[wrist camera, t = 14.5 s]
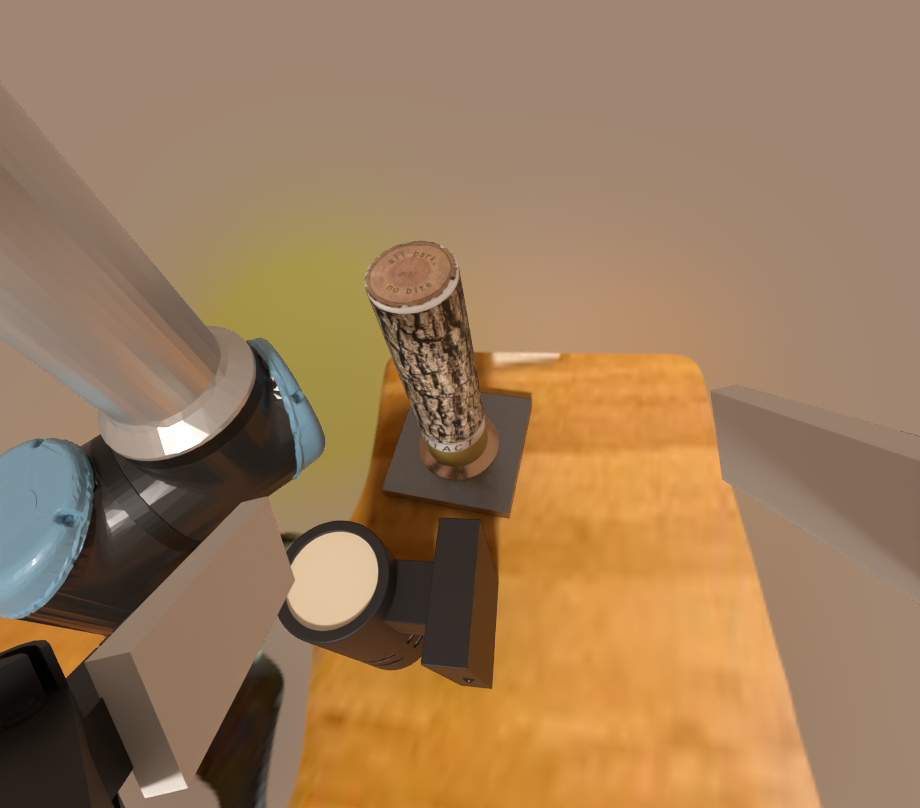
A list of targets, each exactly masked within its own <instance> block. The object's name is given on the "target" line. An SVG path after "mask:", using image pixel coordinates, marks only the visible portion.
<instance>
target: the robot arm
mask: <svg viewBox="0 0 920 808" xmlns="http://www.w3.org/2000/svg"><path fill="white" fill-rule="evenodd" d="M0 339H1V340H2V341H4V342H5V343H6V344H8V345H9V346H11V347H12V348H13V349H15V350H16V351H18V352H19V353H20V354H22V355H23V356H25V357H26V358H27V359H29V360H30V361H32V362H33V363H34V364H36V365H37V366H38V367H40V368H41V369H43V370H44V371H45V372H47V373H48V374H50V375H51V376H52V377H54V378H55V379H57V380H58V381H59V382H61V383H62V384H63V385H65V386H66V387H68V388H69V389H70V390H72V391H73V392H75V393H76V394H77V395H79V396H80V397H82V398H83V399H84V400H86V401H87V402H89V403H90V404H91V405H93V406H94V407H95V408H97V409H98V410H99V412H98V424H99V430H100V433H101V434H100V435H99V436H97V437H95V438H94V439H92V440H90V441H89V442H87V443H86V444H84V445H82V446H78V445H77V444H74V443H73V442H70V441H68V440H60V439H56V438H49V439H46V440H43V439H34V440H30V441H27V442H24V443H22V444H20V445H18V446H15V447H13V448H11V449H10V450H8V451H6V452H5V453H3V454H2V455H0V617H2V618H9V619H18V620H23V621H29V622H34V623H40V624H45V625H51V626H56V627H61V628H67V629H72V630H78V631H83V632H89V633H94V634H100V635H104V636H105V637H106V638H105V639H104V640H103V641H102V642H101V643H100V644H99V645H100V647H98V648H95V650H94V651H93V652H92V653H91V654H90V655H89V656H88V657H87V658H86V659H85V660H84V661H83V662H82V663H81V664H80V665H79V666H78V667H77V668H76V669H75V670H74V671H73V672H72V673H71V674H70V675H69V676H68V677H67V678H65V676H64V674H63V672H62V670H61V667H60V665H59V663H58V661H57V659H56V657H55V654H54V652H53V650H52V648H51V646H50V644H49V643H48V642H47V641H46V640H39V641H32V642H28V643H25V644H21V645H18V646H16V647H13V648H11V649H8V650H6V651H4V652H1V653H0V808H125V807H124V805H123V802H122V800H121V798H120V796H119V794H118V791H119V789H120V788H121V786H122V785H123V783H124V782H125V780H126V779H127V777H128V776H129V774H130V773H131V771H133V773H134V775H135V777H136V780H137V782H138V784H139V786H140V789H141V791H142V793H143V795H144V797H145V798H148V797H152V796H156V795H161V794H165V793H169V792H173V791H178V790H182V789H186V788H188V787H189V785H190V783H191V781H192V779H193V777H194V775H195V773H196V771H197V769H198V767H199V766H200V764H201V762H202V760H203V758H204V756H205V754H206V752H207V750H208V748H209V746H210V744H211V742H212V740H213V738H214V737H215V735H216V733H217V731H218V729H219V727H220V725H221V723H222V721H223V719H224V717H225V715H226V713H227V711H228V709H229V708H230V706H231V704H232V702H233V700H234V698H235V696H236V694H237V692H238V690H239V688H240V686H241V684H242V682H243V680H244V678H245V677H246V675H247V673H248V671H249V669H250V667H251V665H252V663H253V661H254V659H255V657H256V655H257V653H258V651H259V649H260V648H261V645H262V644H263V642H264V640H265V638H266V636H267V634H268V632H269V630H270V628H271V626H272V624H273V622H274V620H275V619H276V617H277V615H278V613H279V611H280V609H281V607H282V605H283V603H284V601H285V599H286V597H287V595H288V593H289V591H290V590H291V588H292V586H293V584H294V582H295V578H294V575H293V572H292V569H291V566H290V563H289V560H288V557H287V554H286V551H285V548H284V545H283V542H282V539H281V536H280V533H279V530H278V527H277V524H276V521H275V518H274V515H273V512H272V509H271V506H270V503H269V500H268V496H269V495H271V494H272V493H273V492H275V491H276V490H277V489H279V488H281V487H282V486H283V485H285V484H287V483H288V482H290V481H291V480H294V479H296V478H297V477H298V476H299V475H300V473H301V471H302V470H304V469H305V468H306V467H308V466H309V465H310V464H311V463H312V462H314V461H315V460H316V459H317V458H319V457H320V455H321V454H322V453H323V451H324V447H325V436H324V433H323V430H322V427H321V425H320V423H319V421H318V418H317V417H316V414H315V412H314V411H313V409H312V407H311V405H310V403H309V402H308V400H307V398H306V397H305V396H304V395H303V394H302V390H301V389H300V387H299V385H298V383H297V381H296V379H295V378H294V376H293V374H292V373H291V371H290V370H289V368H288V367H287V365H286V364H285V362H284V361H283V359H282V358H281V357H280V355H279V354H278V352H277V351H276V350H275V349H274V348H273V346H272V345H271V344H270V343H269V342H268V341H267V340H265V339H262V338H256V339H254V340H247V341H245V340H244V339H242V338H241V337H240V336H239V335H238V334H236V333H235V332H233V331H231V330H228V329H225V328H221V327H216V326H205V324H204V323H203V322H202V321H201V320H200V318H199V317H198V316H197V315H196V314H195V312H194V311H193V310H192V309H191V308H190V306H189V305H188V304H187V303H186V302H185V301H184V299H183V298H182V297H181V296H180V295H179V293H178V292H177V291H176V290H175V289H174V287H173V286H172V285H171V284H170V283H169V282H168V280H167V279H166V278H165V277H164V275H163V274H162V273H161V272H160V271H159V270H158V269H157V267H156V266H155V265H154V264H153V262H152V261H151V260H150V259H149V258H148V256H147V255H146V254H145V253H144V252H143V250H142V249H141V248H140V247H139V246H138V245H137V243H136V242H135V241H134V240H133V239H132V237H131V236H130V235H129V234H128V233H127V231H126V230H125V229H124V228H123V227H122V225H121V224H120V223H119V222H118V221H117V219H116V218H115V217H114V216H113V215H112V214H111V212H110V211H109V210H108V209H107V208H106V206H105V205H104V204H103V203H102V202H101V200H99V198H98V197H97V196H96V194H95V193H94V192H93V191H92V190H91V188H90V187H89V186H88V185H87V184H86V183H85V181H84V180H83V179H82V178H81V177H80V176H79V174H78V173H77V172H76V171H75V170H74V168H73V167H72V166H71V165H70V163H69V162H68V161H67V160H66V159H65V157H64V156H63V155H62V154H61V153H60V152H59V150H58V149H57V148H56V147H55V146H54V144H53V143H52V142H51V141H50V140H49V138H48V137H47V136H46V135H45V134H44V132H42V130H41V129H40V128H39V126H38V125H37V124H36V123H35V122H34V121H33V119H32V118H31V117H30V116H29V115H28V113H27V112H26V111H25V110H24V109H23V107H22V106H21V105H20V104H19V103H18V101H17V100H16V99H15V98H14V97H13V95H12V94H11V93H10V92H9V91H8V90H7V88H6V87H5V86H4V85H3V84H2V83H1V81H0ZM711 398H712V406H713V413H714V421H715V428H716V436H717V443H718V451H719V458H720V466H721V473H722V480H724V481H726V482H727V483H729V484H730V485H732V486H734V487H735V488H737V489H738V490H740V491H741V492H743V493H745V494H746V495H748V496H749V497H751V498H752V499H754V500H756V501H757V502H759V503H760V504H762V505H763V506H765V507H767V508H768V509H770V510H772V511H773V512H775V513H776V514H778V515H779V516H781V517H783V518H784V519H786V520H787V521H789V522H791V523H792V524H794V525H795V526H797V527H798V528H800V529H801V530H803V531H805V532H806V533H808V534H809V535H811V536H813V537H814V538H816V539H817V540H819V541H820V542H822V543H823V544H825V545H827V546H828V547H830V548H831V549H833V550H835V551H836V552H838V553H839V554H841V555H843V556H844V557H846V558H847V559H849V560H850V561H852V562H853V563H855V564H857V565H858V566H860V567H862V568H863V569H865V570H866V571H868V572H869V573H871V574H872V575H874V576H876V577H877V578H879V579H880V580H882V581H884V582H885V583H887V584H888V585H890V586H891V587H893V588H895V589H896V590H898V591H899V592H901V593H903V594H904V595H906V596H907V597H909V598H910V599H912V600H913V601H915V602H917V603H918V604H920V436H917V435H913V434H910V433H906V432H903V431H898V430H894V429H891V428H887V427H884V426H880V425H877V424H873V423H870V422H866V421H863V420H859V419H856V418H852V417H848V416H845V415H841V414H838V413H834V412H831V411H827V410H824V409H820V408H817V407H813V406H810V405H806V404H803V403H799V402H795V401H792V400H789V399H785V398H782V397H778V396H775V395H771V394H768V393H764V392H760V391H757V390H753V389H750V388H746V387H743V386H739V385H733V386H729V387H725V388H721V389H716V390H712V391H711Z"/></svg>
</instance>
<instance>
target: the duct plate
mask: <svg viewBox="0 0 920 808" xmlns="http://www.w3.org/2000/svg"><path fill="white" fill-rule="evenodd" d="M481 398H482V404H483V410H484V415H485V423H486V428H487V434H488V441H487V446H486V449H485V451H484V452H483V454H482V455H481V456H480V457H479V458H478V459H477V460H476V461H474V462H473V463H471V464H469V465H466V466H462V467H449V466H445V465H443V464H441V463H439V462H437V461H436V460H435V459H434V458H433V457H432V455H431V454H430V452H429V450H428V447H427V445H426V442H425V439H424V437H423V435H422V432H421V430H420V427H419V425H418V422H417V420H416V417H415V415H414V412H413V409H412V407H411V405H410V408H409V411H408V414H407V417H406V420H405V423H404V426H403V429H402V431H401V434H400V437H399V440H398V443H397V446H396V449H395V452H394V455H393V458H392V461H391V463H390V466H389V469H388V472H387V475H386V478H385V481H384V484H383V487H382V491H383V492H384V494H385V495H389V496H394V497H399V498H404V499H409V500H415V501H420V502H425V503H430V504H436V505H441V506H446V507H451V508H457V509H462V510H467V511H472V512H478V513H483V514H488V515H493V516H498V517H504V518H510V513H511V508H512V503H513V498H514V493H515V488H516V483H517V478H518V473H519V468H520V463H521V458H522V453H523V448H524V444H525V439H526V434H527V429H528V424H529V419H530V414H531V409H532V399H526V398H519V397H511V396H503V395H496V394H488V393H481Z"/></svg>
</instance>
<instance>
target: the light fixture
mask: <svg viewBox="0 0 920 808" xmlns="http://www.w3.org/2000/svg"><path fill="white" fill-rule="evenodd" d="M286 554H287V557H288V560H289V563H290V566H291V569H292V572H293V575H294V578H295V582H294V584H293V586H292V588H291V590H290V591H289V593H288V595H287V597H286V599H285V601H284V603H283V605H282V607H281V609H280V611H279V613H278V617H279V619H280V621H281V622H282V624H283V625H284V627H285V628H286V629H287V630H288V631H289V632H290V633H291V634H292V635H294V636H295V637H297V638H298V639H301V640H303V641H305V642H308V643H311V644H313V645H316V646H319V647H322V648H325V649H327V650H330V651H333V652H336V653H338V654H341V655H344V656H347V657H349V658H352V659H355V660H358V661H361V662H363V663H366V664H369V665H372V666H374V667H377V668H380V669H384V670H398V669H402V668H405V667H407V666H409V665H411V664H413V663H414V662H416V661H417V660H418V659H419V658H420V657H421V656H422V658H421V665H422V666H424V667H426V668H428V669H430V670H432V671H434V672H436V673H438V674H440V675H442V676H444V677H446V678H448V679H449V680H451V681H453V682H455V683H457V684H459V685H462V686H471V687H480V688H489V689H492V681H493V664H494V648H495V631H496V615H497V598H498V578H497V575H496V571H495V568H494V565H493V561H492V558H491V554H490V551H489V548H488V544H487V541H486V538H485V534H484V531H483V527H482V524H481V521H480V520H478V519H460V518H439V525H438V533H437V541H436V549H435V556H434V562H426V561H411V560H397V559H396V558H395V556H394V555H393V554H392V553H391V552H390V551H389V549H388V548H387V547H386V546H385V545H384V544H383V543H382V541H381V540H380V539H379V538H378V537H377V536H376V535H375V534H374V533H373V532H372V531H371V530H370V529H368V528H367V527H365V526H363V525H361V524H358V523H355V522H351V521H331V522H327V523H324V524H321V525H318V526H316V527H314V528H312V529H310V530H309V531H307V532H306V533H304V534H303V535H302V536H300V537H299V538H298V539H297V540H296V541H295V542H294V543H293V544H292V545H291V546H290V548H289V549H288V550H287V552H286Z"/></svg>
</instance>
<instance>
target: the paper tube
mask: <svg viewBox="0 0 920 808" xmlns="http://www.w3.org/2000/svg"><path fill="white" fill-rule="evenodd" d="M365 288H366V291H367V294H368V297H369V299H370V302H371V305H372V307H373V310H374V312H375V315H376V318H377V320H378V322H379V325H380V328H381V330H382V333H383V335H384V338H385V340H386V343H387V346H388V348H389V351H390V353H391V356H392V358H393V361H394V364H395V366H396V369H397V371H398V374H399V376H400V379H401V381H402V384H403V386H404V389H405V392H406V394H407V397H408V399H409V402H410V404H411V407H412V409H413V412H414V415H415V417H416V420H417V422H418V425H419V427H420V430H421V432H422V435H423V437H424V439H425V442H426V445H427V447H428V450H429V452H430V454H431V455H432V457H433V458H434V459H435V460H436V461H437V462H439V463H441V464H443V465H445V466H449V467H462V466H466V465H469V464H471V463H473V462H474V461H476V460H477V459H478V458H479V457H480V456H481V455H482V454H483V452H484V451H485V449H486V446H487V441H488V434H487V428H486V423H485V415H484V410H483V404H482V398H481V392H480V387H479V381H478V375H477V369H476V363H475V358H474V352H473V347H472V340H471V335H470V329H469V323H468V317H467V311H466V306H465V300H464V294H463V289H462V283H461V277H460V271H459V267H458V263H457V260H456V258H455V256H454V254H453V253H452V252H451V251H450V250H448V249H447V248H445V247H444V246H442V245H439V244H436V243H433V242H426V241H414V242H408V243H403V244H400V245H397V246H394V247H392V248H390V249H388V250H386V251H385V252H383V253H382V254H380V255H379V256H378V257H377V258H376V259H375V260H374V261H373V262H372V263H371V264H370V266H369V268H368V269H367V272H366V275H365Z"/></svg>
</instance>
